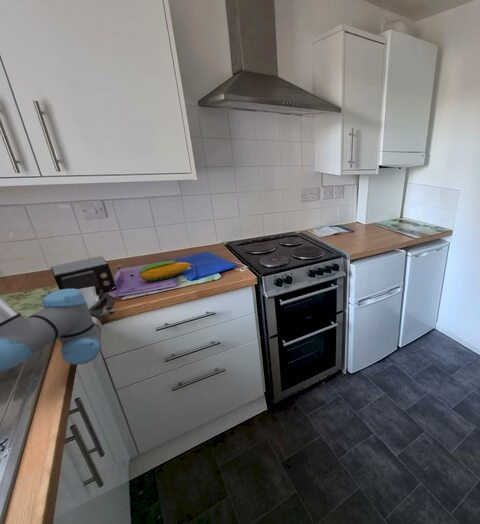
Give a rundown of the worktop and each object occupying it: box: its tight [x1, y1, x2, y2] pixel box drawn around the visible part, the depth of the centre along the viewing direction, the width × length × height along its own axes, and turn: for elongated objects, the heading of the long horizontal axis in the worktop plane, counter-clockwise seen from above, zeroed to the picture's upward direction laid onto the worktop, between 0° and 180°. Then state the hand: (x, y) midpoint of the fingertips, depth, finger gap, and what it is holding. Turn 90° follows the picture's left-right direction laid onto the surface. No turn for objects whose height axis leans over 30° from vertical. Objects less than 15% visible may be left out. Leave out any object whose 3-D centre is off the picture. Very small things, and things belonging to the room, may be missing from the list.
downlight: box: [78, 286, 104, 311], centre depth 102 cm, size 8×7×10 cm
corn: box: [139, 260, 192, 282], centre depth 133 cm, size 7×8×20 cm
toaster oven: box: [50, 255, 117, 296], centre depth 119 cm, size 13×16×12 cm
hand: (89, 295), depth 106 cm, fingers closed on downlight, 6 cm apart
